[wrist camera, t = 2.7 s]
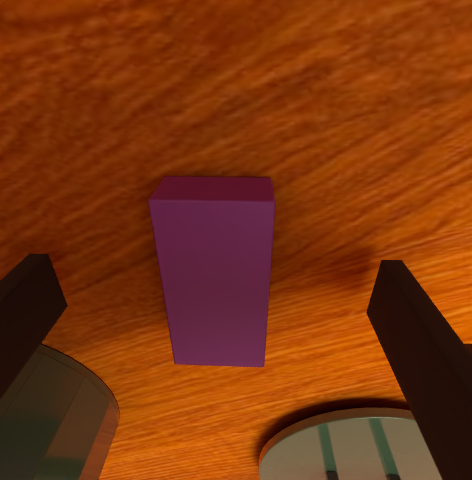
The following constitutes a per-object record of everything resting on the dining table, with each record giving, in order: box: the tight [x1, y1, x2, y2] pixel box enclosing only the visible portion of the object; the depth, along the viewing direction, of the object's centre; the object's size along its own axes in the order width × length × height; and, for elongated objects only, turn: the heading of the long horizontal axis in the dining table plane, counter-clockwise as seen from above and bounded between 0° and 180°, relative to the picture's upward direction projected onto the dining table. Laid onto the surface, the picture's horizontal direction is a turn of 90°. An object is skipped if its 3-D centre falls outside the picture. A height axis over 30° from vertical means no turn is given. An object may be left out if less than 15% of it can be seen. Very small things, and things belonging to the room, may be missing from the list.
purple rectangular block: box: [148, 176, 275, 367], centre depth 13 cm, size 8×4×2 cm, turn 0°
